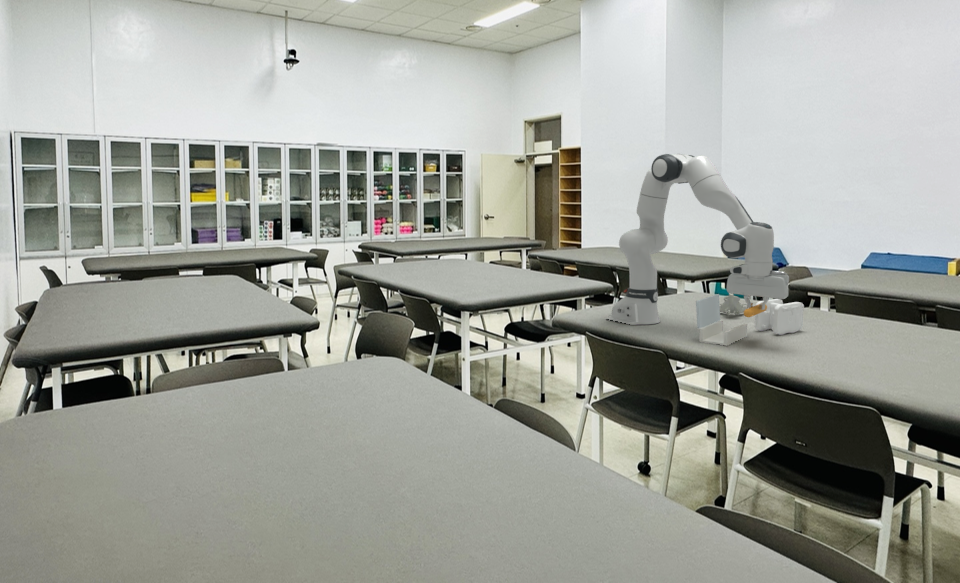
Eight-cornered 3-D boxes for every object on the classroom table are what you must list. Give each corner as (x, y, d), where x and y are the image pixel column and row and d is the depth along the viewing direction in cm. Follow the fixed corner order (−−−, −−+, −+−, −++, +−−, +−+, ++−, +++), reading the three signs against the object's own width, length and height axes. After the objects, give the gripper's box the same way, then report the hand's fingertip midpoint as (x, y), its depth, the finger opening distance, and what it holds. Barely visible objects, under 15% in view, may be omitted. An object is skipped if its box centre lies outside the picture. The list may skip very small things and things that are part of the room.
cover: (699, 328, 229) (697, 328, 229) (720, 320, 242) (718, 320, 242) (698, 301, 228) (695, 300, 228) (719, 294, 241) (716, 294, 241)
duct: (699, 342, 230) (699, 328, 229) (720, 333, 243) (720, 320, 242) (726, 346, 223) (727, 332, 222) (746, 336, 236) (747, 323, 235)
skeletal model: (751, 310, 285) (754, 278, 265) (750, 328, 280) (753, 297, 261) (712, 308, 291) (713, 277, 271) (711, 325, 286) (712, 295, 266)
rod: (742, 317, 219) (742, 308, 218) (759, 310, 230) (759, 302, 230) (750, 318, 217) (751, 309, 216) (768, 311, 228) (768, 303, 228)
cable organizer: (779, 326, 251) (780, 297, 249) (803, 331, 242) (805, 301, 240) (753, 331, 244) (754, 301, 242) (777, 336, 235) (779, 305, 233)
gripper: (792, 271, 216) (790, 311, 218) (732, 266, 230) (730, 303, 232) (786, 273, 211) (783, 313, 214) (725, 268, 225) (723, 306, 228)
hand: (755, 308), depth 223 cm, fingers closed on rod, 3 cm apart
